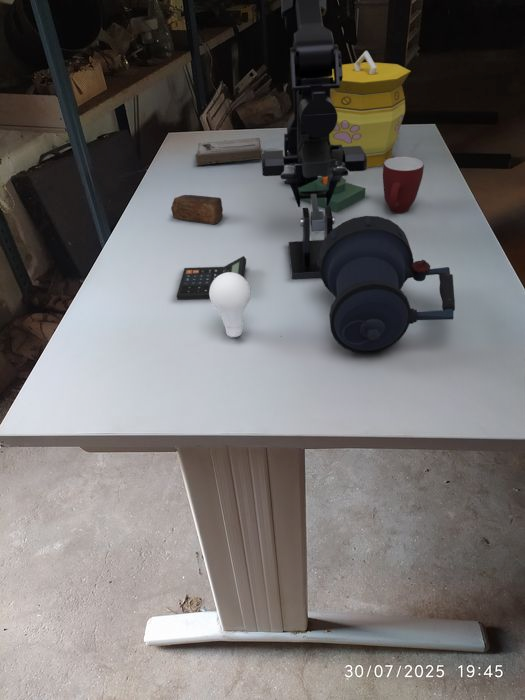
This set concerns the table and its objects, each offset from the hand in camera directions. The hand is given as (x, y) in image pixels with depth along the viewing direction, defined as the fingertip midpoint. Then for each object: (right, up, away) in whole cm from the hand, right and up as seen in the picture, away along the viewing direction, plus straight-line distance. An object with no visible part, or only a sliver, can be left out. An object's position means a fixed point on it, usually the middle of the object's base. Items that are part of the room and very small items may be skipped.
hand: (312, 205), depth 103 cm
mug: (+19, +2, +12) cm, 23 cm away
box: (-19, +24, +43) cm, 53 cm away
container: (+16, +23, +39) cm, 48 cm away
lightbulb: (-14, -26, -19) cm, 35 cm away
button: (+6, +10, +17) cm, 21 cm away
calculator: (-19, -16, -7) cm, 25 cm away
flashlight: (+9, -24, -19) cm, 32 cm away
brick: (-24, +1, +15) cm, 28 cm away
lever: (0, -3, -4) cm, 4 cm away
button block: (+6, +7, +20) cm, 22 cm away
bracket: (0, -11, -2) cm, 11 cm away
